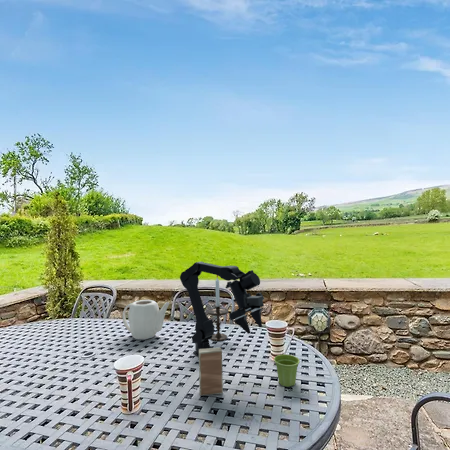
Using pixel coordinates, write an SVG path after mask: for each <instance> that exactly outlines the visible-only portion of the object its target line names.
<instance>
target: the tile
mask: <svg viewBox="0 0 450 450" xmlns="http://www.w3.org/2000/svg"><path fill="white" fill-rule="evenodd" d="M223 372H224V371H223V350H222V347H221V346H218V347H210V348H206V349H199V356H198V374H199V375H198V378H199V380H198V381H199V384H198V385H199V395H200V396H210V395H217V394H219V395H220V394H223V393H224V385H223V384H224V382H223V381H224V379H223Z"/></svg>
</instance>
